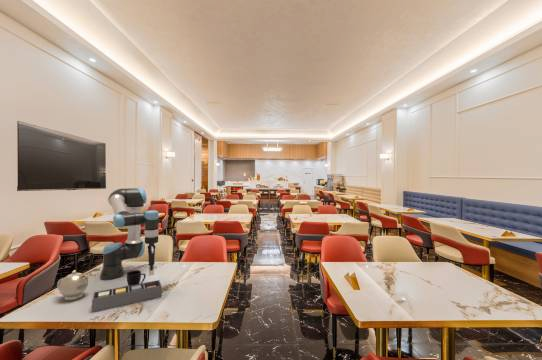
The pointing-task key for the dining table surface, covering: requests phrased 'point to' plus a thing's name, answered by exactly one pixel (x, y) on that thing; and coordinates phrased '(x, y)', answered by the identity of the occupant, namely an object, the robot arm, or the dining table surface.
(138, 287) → the key
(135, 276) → the mug
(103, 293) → the key
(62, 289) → the teapot
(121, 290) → the key
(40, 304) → the dining table surface
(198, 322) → the dining table surface
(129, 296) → the compartment tray
